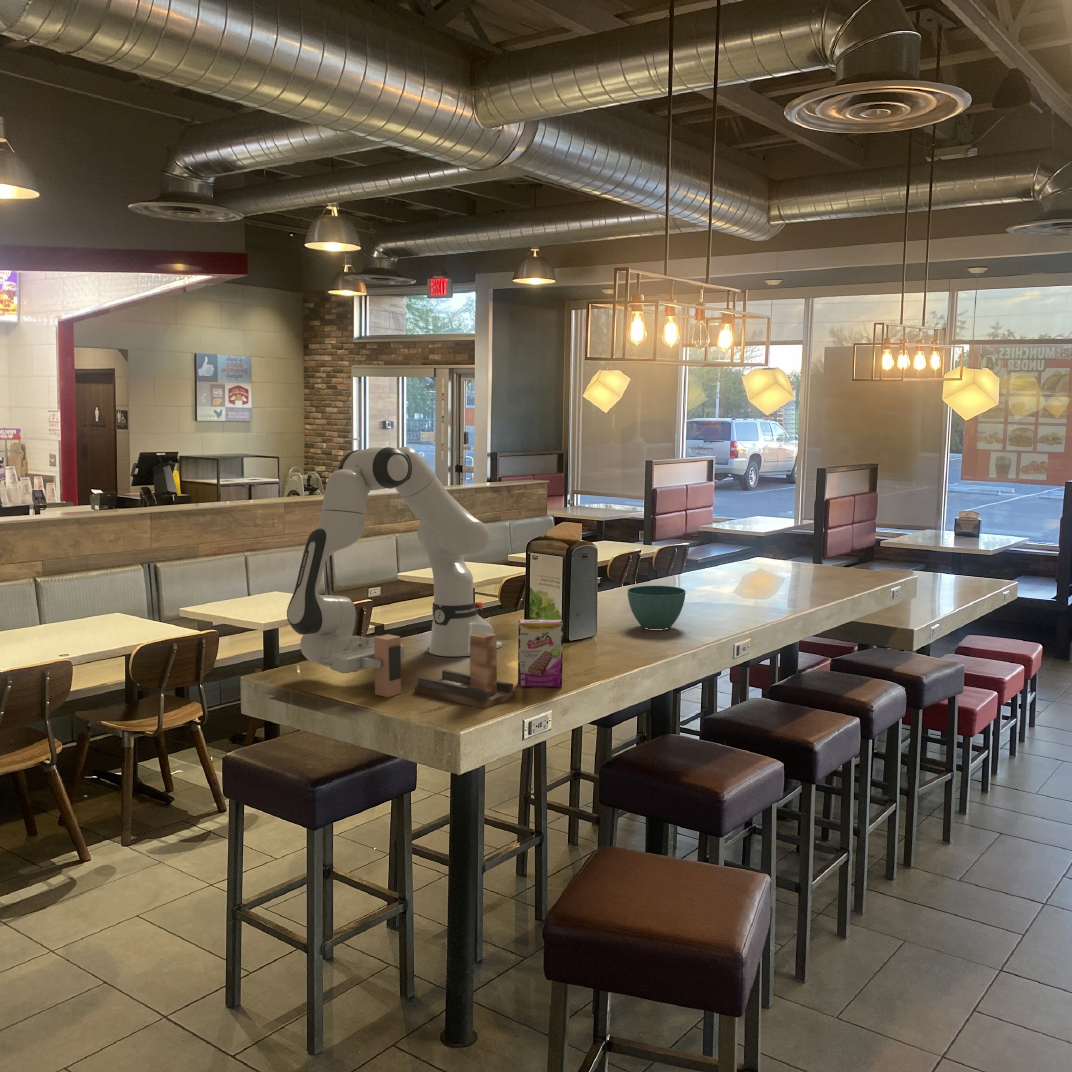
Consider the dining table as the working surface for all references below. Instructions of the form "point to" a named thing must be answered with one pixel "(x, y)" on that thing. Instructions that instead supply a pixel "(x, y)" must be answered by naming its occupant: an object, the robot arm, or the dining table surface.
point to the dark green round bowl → (656, 605)
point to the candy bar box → (540, 653)
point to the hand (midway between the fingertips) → (390, 661)
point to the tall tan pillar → (388, 665)
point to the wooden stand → (472, 678)
